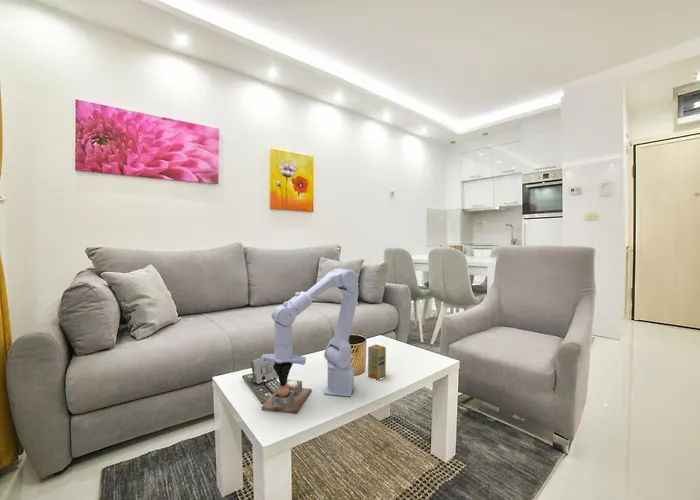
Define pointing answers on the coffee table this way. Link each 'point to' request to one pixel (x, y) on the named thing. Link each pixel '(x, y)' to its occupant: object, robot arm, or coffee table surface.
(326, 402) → the coffee table surface
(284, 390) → the plug terracotta
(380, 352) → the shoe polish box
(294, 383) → the plug cream
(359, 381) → the coffee table surface
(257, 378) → the electrical switch
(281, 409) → the panel
